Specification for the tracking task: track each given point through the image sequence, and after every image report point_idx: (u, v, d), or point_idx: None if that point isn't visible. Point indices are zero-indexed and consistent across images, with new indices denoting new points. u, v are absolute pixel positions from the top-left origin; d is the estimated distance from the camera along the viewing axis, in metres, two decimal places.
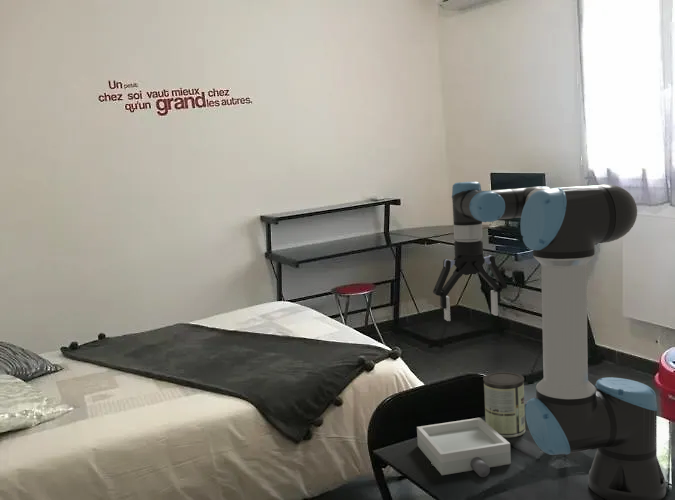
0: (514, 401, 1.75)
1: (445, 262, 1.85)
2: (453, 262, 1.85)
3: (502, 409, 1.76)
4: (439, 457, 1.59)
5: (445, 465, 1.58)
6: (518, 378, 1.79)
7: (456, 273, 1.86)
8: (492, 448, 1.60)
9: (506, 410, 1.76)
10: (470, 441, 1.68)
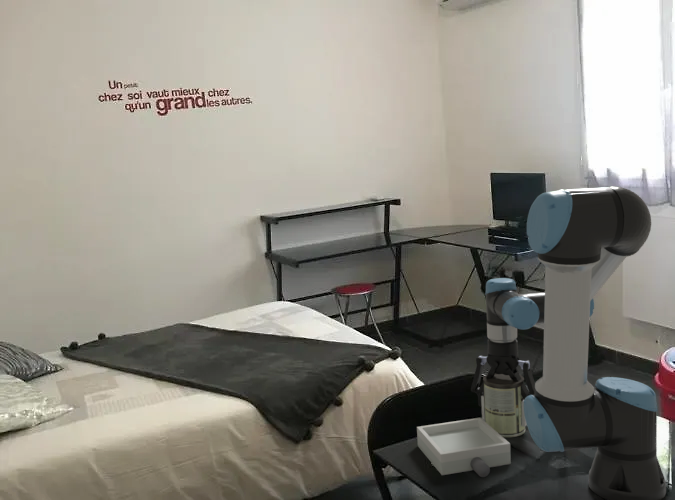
0: (514, 401, 1.75)
1: None
2: (485, 359, 1.81)
3: (502, 409, 1.76)
4: (439, 457, 1.59)
5: (445, 465, 1.58)
6: None
7: None
8: (492, 448, 1.60)
9: (506, 410, 1.76)
10: (470, 441, 1.68)
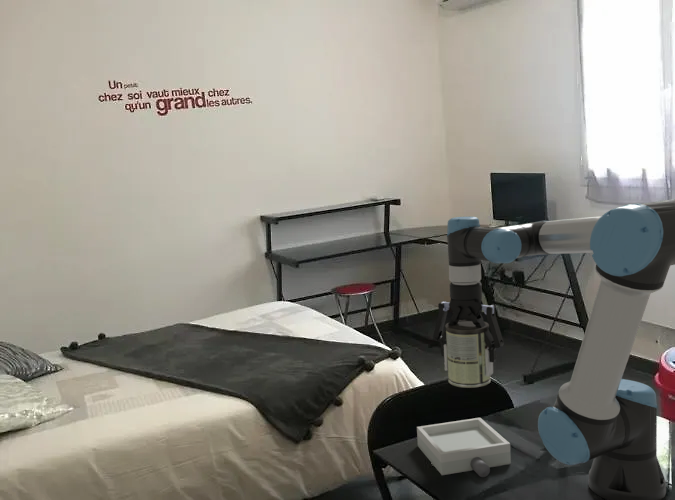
0: (477, 348, 1.63)
1: None
2: (447, 305, 1.69)
3: (464, 357, 1.63)
4: (439, 457, 1.59)
5: (445, 465, 1.58)
6: None
7: None
8: (492, 448, 1.60)
9: (468, 358, 1.63)
10: (470, 441, 1.68)
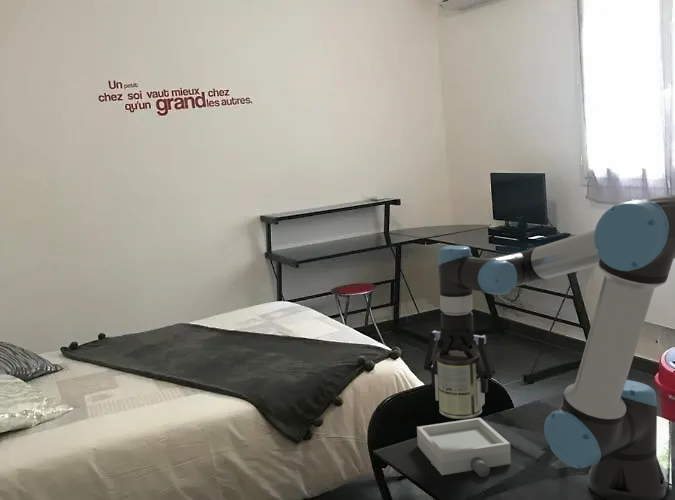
0: (469, 379, 1.61)
1: None
2: (438, 334, 1.67)
3: (455, 388, 1.61)
4: (439, 457, 1.59)
5: (445, 465, 1.58)
6: None
7: None
8: (492, 448, 1.60)
9: (460, 389, 1.61)
10: (470, 441, 1.68)
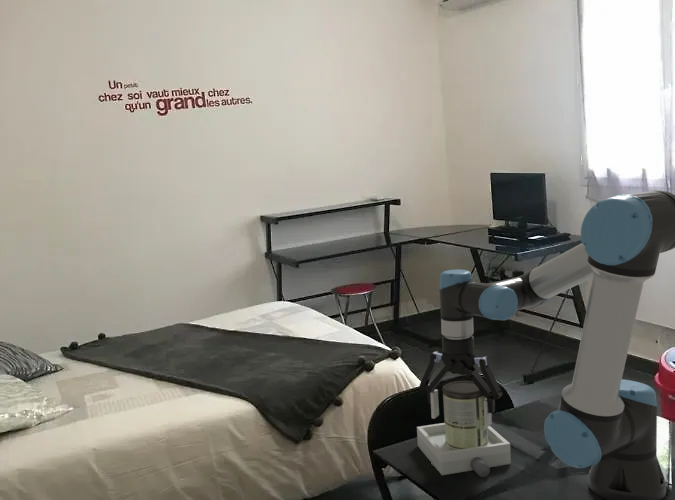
0: (475, 413, 1.61)
1: None
2: (440, 356, 1.67)
3: (461, 422, 1.62)
4: (439, 457, 1.59)
5: (445, 465, 1.58)
6: None
7: None
8: (492, 448, 1.60)
9: (466, 423, 1.62)
10: None
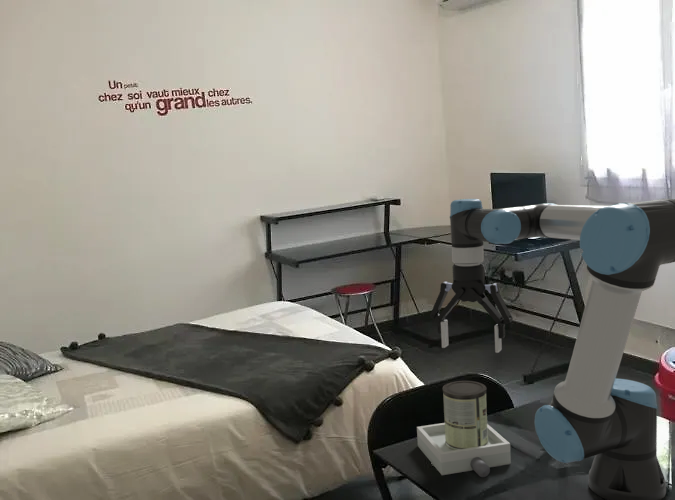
0: (475, 413, 1.61)
1: None
2: (450, 285, 1.70)
3: (462, 422, 1.62)
4: (439, 457, 1.59)
5: (445, 465, 1.58)
6: (480, 387, 1.65)
7: None
8: (492, 448, 1.60)
9: (466, 423, 1.62)
10: None
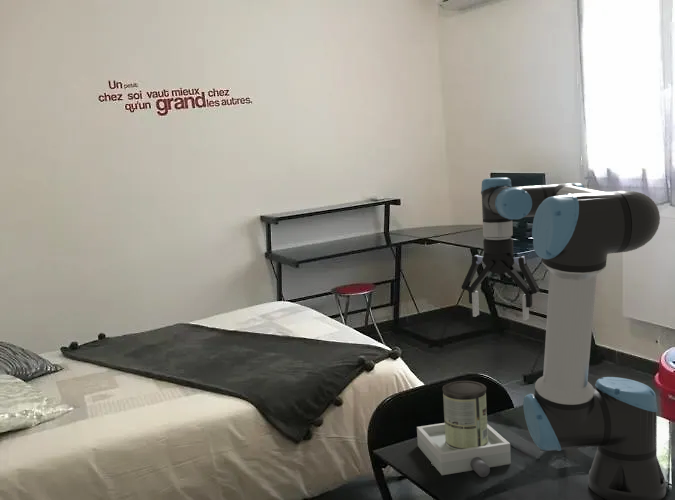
0: (475, 413, 1.61)
1: None
2: (481, 258, 1.83)
3: (462, 422, 1.62)
4: (439, 457, 1.59)
5: (445, 465, 1.58)
6: (480, 387, 1.65)
7: None
8: (492, 448, 1.60)
9: (466, 423, 1.62)
10: None
